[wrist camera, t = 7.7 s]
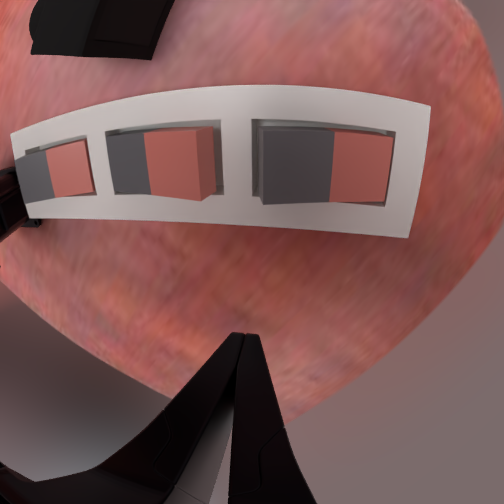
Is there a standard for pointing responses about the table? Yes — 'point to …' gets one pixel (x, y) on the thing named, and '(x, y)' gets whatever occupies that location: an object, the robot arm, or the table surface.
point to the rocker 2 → (164, 162)
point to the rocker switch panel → (240, 155)
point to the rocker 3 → (322, 165)
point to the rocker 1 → (55, 172)
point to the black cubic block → (98, 27)
